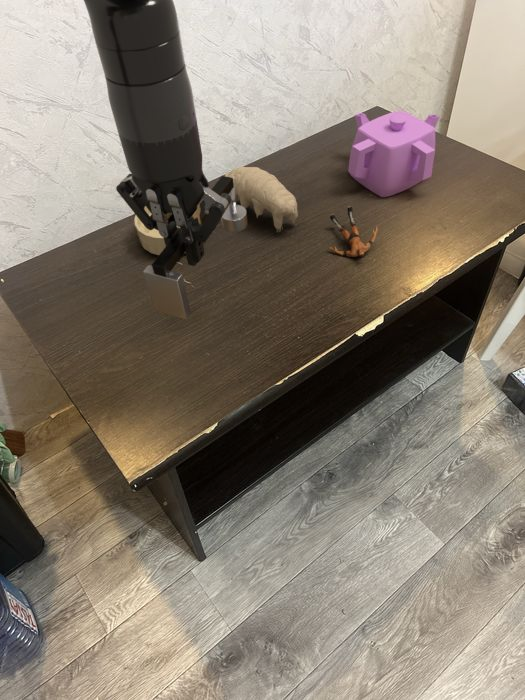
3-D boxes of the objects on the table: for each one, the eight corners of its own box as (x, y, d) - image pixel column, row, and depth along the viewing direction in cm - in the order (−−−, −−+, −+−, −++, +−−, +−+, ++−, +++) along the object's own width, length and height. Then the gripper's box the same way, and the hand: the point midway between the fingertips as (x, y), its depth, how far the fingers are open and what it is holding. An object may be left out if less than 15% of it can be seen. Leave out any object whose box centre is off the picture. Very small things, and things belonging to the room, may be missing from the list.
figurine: (363, 199, 92) (387, 243, 86) (365, 208, 94) (388, 251, 88) (317, 220, 93) (337, 265, 88) (319, 228, 95) (339, 272, 90)
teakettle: (345, 196, 101) (350, 138, 92) (351, 151, 112) (356, 94, 102) (431, 202, 99) (446, 143, 89) (429, 155, 109) (443, 98, 99)
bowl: (155, 268, 91) (148, 246, 87) (131, 230, 98) (125, 209, 94) (217, 243, 94) (214, 222, 90) (190, 209, 101) (186, 188, 98)
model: (238, 192, 104) (233, 147, 96) (305, 225, 96) (306, 179, 89) (216, 208, 101) (209, 163, 93) (283, 243, 94) (282, 197, 86)
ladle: (226, 213, 73) (219, 164, 67) (254, 219, 72) (250, 169, 65) (155, 310, 61) (139, 262, 55) (186, 320, 60) (174, 271, 54)
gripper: (238, 110, 47) (251, 252, 61) (116, 91, 51) (153, 228, 65) (203, 151, 43) (224, 293, 57) (72, 127, 47) (122, 266, 60)
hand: (186, 258), depth 61 cm, fingers closed on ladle
